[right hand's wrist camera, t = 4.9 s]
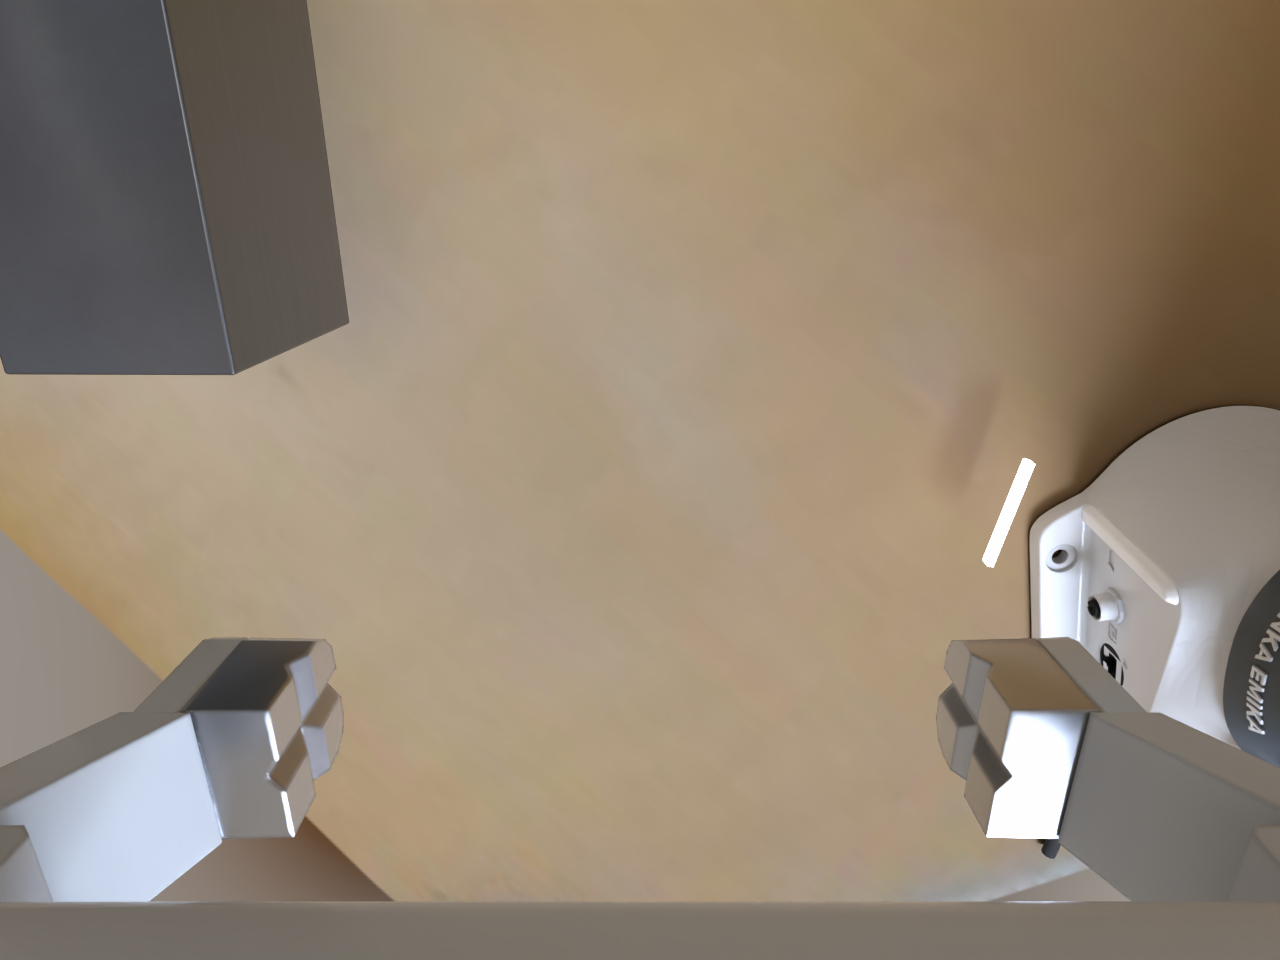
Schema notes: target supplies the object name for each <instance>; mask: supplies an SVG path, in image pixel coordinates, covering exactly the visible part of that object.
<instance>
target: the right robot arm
mask: <svg viewBox="0 0 1280 960" xmlns="http://www.w3.org/2000/svg"><path fill="white" fill-rule="evenodd" d="M1034 466H1035V463H1033V462H1032V461H1031V460H1029V459H1025V458H1023V460H1022V462H1021V465H1020V467H1019V470H1018V472H1017V475H1016V477H1015V480H1014V482H1013V485H1012V487H1011V490H1010V492H1009V495H1008V497H1007V500H1006V502H1005V505H1004V507H1003V510H1002V512H1001V515H1000V517H999V520H998V522H997V524H996V527H995V529H994V532H993V534H992V537H991V539H990V542H989V544H988V547H987V549H986V552H985V554H984V557H983V559H982V560H983V562H984V563H985V564H986V565H987V566H990V567H993V566H994V564H995V562H996V559H997V557H998V554H999V552H1000V549H1001V547H1002V544H1003V542H1004V540H1005V537H1006V535H1007V532H1008V530H1009V527H1010V525H1011V522H1012V520H1013V518H1014V515H1015V513H1016V510H1017V508H1018V505H1019V503H1020V500H1021V498H1022V496H1023V493H1024V491H1025V488H1026V486H1027V483H1028V481H1029V479H1030V476H1031V474H1032V471H1033V469H1034ZM1060 549H1062V551H1061V553H1060V554H1059V555H1058V556H1057V557H1054V558H1052V555H1053V553H1054V552H1055V551H1057V550H1060ZM1030 581H1031V625H1032V638H1029V639H990V640H952V641H951V644H950V646H949V648H948V650H947V653H946V658H945V664H944V669H945V671H946V672H947V674H948V675H949V677H950V679H951V680H952V682H953V683H952V684H951V685H950V686H949V687H948V688H947V689H946V690H945V691H944V692H943V693H942V694H941V695H940V696H939V701H938V709H937V717H936V721H937V731H938V740H939V744H940V747H941V750H942V754H943V756H944V758H945V760H946V762H947V764H948V766H949V768H950V770H952V771H953V772H954V773H956V774H957V775H959V776H960V777H962V778H963V779H965V780H966V781H967V782H966V788H965V793H964V796H965V798H966V800H967V802H968V804H969V806H970V808H971V809H972V811H973V813H974V815H975V817H976V819H977V821H978V822H979V824H980V826H981V828H982V830H983V832H984V833H985V835H986V837H1002V838H1038V839H1046V840H1045V843H1044V845H1043V847H1042V849H1041V850H1042V853H1043V854H1044V855H1045V856H1046V857H1049V858H1052V859H1054V858H1055V857H1056V855H1057V853H1058V850H1059V848H1060V845H1062V846H1063V847H1064V848H1065V849H1067V850H1068V851H1069V852H1070V853H1072V854H1073V855H1074V856H1075V857H1077V858H1078V859H1079V860H1080V861H1082V862H1083V863H1084V864H1085V865H1087V866H1088V867H1089V868H1090V869H1092V870H1093V871H1094V872H1095V873H1097V874H1098V875H1099V876H1100V877H1102V878H1103V879H1104V880H1105V881H1107V882H1108V883H1109V884H1110V885H1112V886H1113V887H1114V888H1115V889H1116V890H1118V891H1119V892H1120V893H1121V894H1123V895H1124V896H1125V897H1126V898H1128V899H1129V900H1130V901H1131V902H149V901H150V900H151V899H153V898H154V897H155V896H156V895H158V894H159V893H160V892H161V891H162V890H164V889H165V888H166V887H167V886H169V885H170V884H171V883H172V882H174V881H175V880H176V879H177V878H179V877H180V876H181V875H182V874H184V873H185V872H186V871H187V870H189V869H190V868H191V867H192V866H194V865H195V864H196V863H197V862H199V861H200V860H201V859H202V858H204V857H205V856H206V855H207V854H209V853H210V852H211V851H212V850H214V849H215V848H216V847H217V846H219V845H220V844H221V843H222V839H241V838H275V837H294V835H295V834H296V832H297V830H298V828H299V826H300V824H301V822H302V821H303V819H304V817H305V815H306V813H307V811H308V809H309V808H310V806H311V804H312V802H313V800H314V798H315V796H316V793H315V788H314V782H313V781H314V780H315V779H317V778H318V777H320V776H321V775H323V774H324V773H326V772H327V771H328V770H330V768H331V766H332V764H333V762H334V760H335V758H336V756H337V754H338V751H339V747H340V742H341V738H342V733H343V707H342V700H341V696H340V695H339V694H338V693H337V692H336V691H335V690H334V689H333V688H332V687H331V686H330V685H329V684H328V683H327V682H328V680H329V679H330V677H331V675H332V674H333V672H334V671H335V669H336V664H335V660H334V655H333V650H332V646H331V645H330V644H329V643H328V642H327V641H326V640H325V639H295V638H246V637H221V638H210V639H205V640H203V641H202V642H201V643H200V644H199V645H198V646H197V647H196V648H195V649H194V650H193V651H192V652H191V653H190V654H189V655H188V656H187V657H186V658H185V659H184V660H183V661H182V662H181V663H180V664H179V665H178V666H177V667H176V668H175V670H174V671H173V672H172V673H171V674H170V675H169V676H168V677H167V678H166V679H165V680H164V681H163V682H162V683H161V684H160V685H159V686H158V687H157V688H156V689H155V690H154V691H153V692H152V693H151V694H150V695H149V696H148V697H147V698H146V699H145V700H144V701H143V702H142V703H141V704H140V706H139V707H138V708H137V709H136V710H135V711H134V712H124V713H118V714H116V715H113V716H111V717H109V718H107V719H105V720H103V721H100V722H98V723H96V724H94V725H92V726H90V727H87V728H85V729H83V730H81V731H79V732H77V733H74V734H72V735H70V736H68V737H66V738H64V739H61V740H59V741H57V742H55V743H53V744H51V745H48V746H46V747H44V748H42V749H40V750H38V751H35V752H33V753H31V754H29V755H27V756H25V757H22V758H20V759H18V760H16V761H14V762H12V763H9V764H7V765H5V766H3V767H1V768H0V960H1280V411H1279V410H1276V409H1271V408H1266V407H1258V406H1227V407H1219V408H1213V409H1208V410H1204V411H1200V412H1196V413H1193V414H1190V415H1187V416H1184V417H1181V418H1179V419H1176V420H1174V421H1172V422H1170V423H1167V424H1165V425H1163V426H1161V427H1159V428H1158V429H1156V430H1154V431H1152V432H1151V433H1149V434H1147V435H1146V436H1144V437H1143V438H1141V439H1140V440H1138V441H1137V442H1136V443H1134V444H1133V445H1132V446H1130V447H1129V448H1128V449H1127V450H1125V451H1124V452H1123V453H1122V454H1121V455H1119V456H1118V457H1117V458H1116V459H1115V460H1114V461H1113V462H1112V463H1111V464H1110V465H1109V466H1108V467H1107V468H1106V470H1105V471H1104V472H1103V473H1102V474H1101V475H1100V476H1099V477H1098V478H1097V479H1096V480H1095V481H1094V482H1093V483H1092V484H1091V485H1090V486H1089V487H1088V488H1086V489H1085V490H1084V491H1083V492H1082V493H1080V494H1078V495H1076V496H1074V497H1072V498H1070V499H1068V500H1066V501H1064V502H1062V503H1061V504H1059V505H1057V506H1055V507H1053V508H1052V509H1050V510H1048V511H1047V512H1046V513H1044V514H1043V515H1041V516H1040V517H1039V518H1038V519H1037V520H1036V521H1035V522H1034V524H1033V526H1032V528H1031V531H1030Z"/></svg>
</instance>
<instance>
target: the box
mask: <svg viewBox="0 0 1280 960" xmlns="http://www.w3.org/2000/svg"><path fill="white" fill-rule="evenodd" d="M348 323H349V318H348V310H347V303H346V295H345V288H344V280H343V273H342V265H341V258H340V250H339V242H338V235H337V227H336V220H335V212H334V205H333V197H332V190H331V182H330V175H329V167H328V159H327V152H326V144H325V137H324V129H323V122H322V114H321V107H320V99H319V92H318V84H317V77H316V69H315V61H314V54H313V46H312V39H311V31H310V24H309V16H308V9H307V1H306V0H0V357H1V360H2V364H3V367H4V371H5V373H6V374H73V375H234V374H237V373H239V372H241V371H243V370H246V369H248V368H250V367H252V366H254V365H257V364H259V363H261V362H263V361H266V360H268V359H270V358H272V357H275V356H277V355H279V354H281V353H283V352H286V351H288V350H290V349H292V348H295V347H297V346H299V345H301V344H304V343H306V342H308V341H310V340H312V339H315V338H317V337H319V336H321V335H324V334H326V333H328V332H330V331H332V330H335V329H337V328H339V327H341V326H344V325H346V324H348Z"/></svg>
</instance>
